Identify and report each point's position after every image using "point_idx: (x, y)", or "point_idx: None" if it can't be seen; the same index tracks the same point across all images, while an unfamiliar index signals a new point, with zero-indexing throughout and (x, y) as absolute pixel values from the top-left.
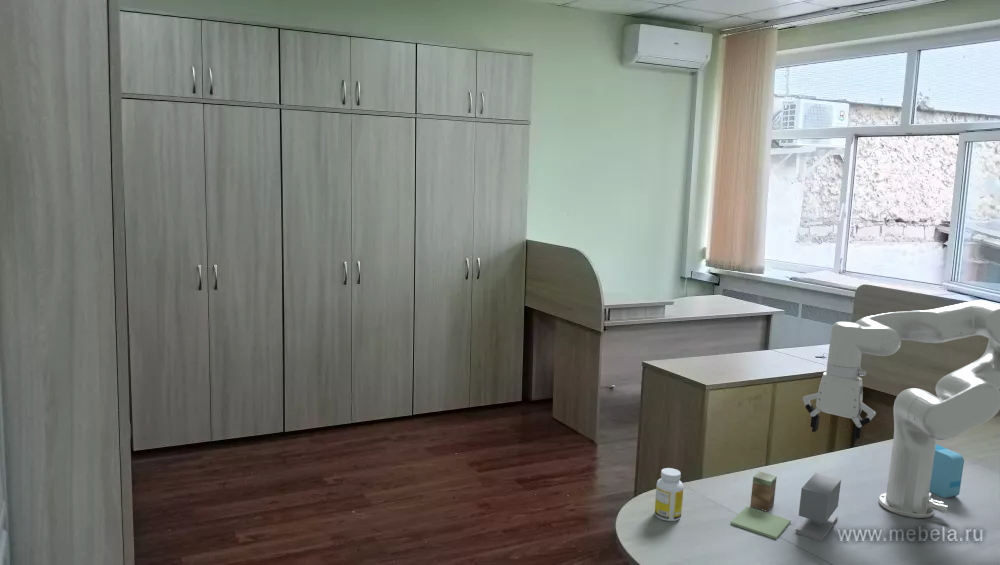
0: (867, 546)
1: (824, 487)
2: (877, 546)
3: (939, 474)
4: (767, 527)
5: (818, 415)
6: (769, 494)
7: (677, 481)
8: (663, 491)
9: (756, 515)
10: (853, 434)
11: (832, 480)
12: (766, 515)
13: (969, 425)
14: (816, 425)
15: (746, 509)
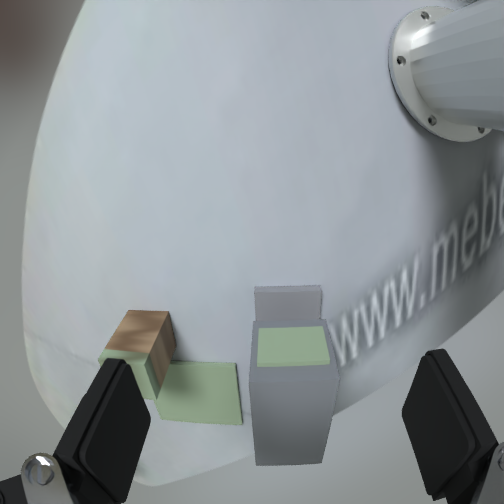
0: (390, 352)
1: (304, 442)
2: (408, 339)
3: None
4: (214, 409)
5: (81, 466)
6: (165, 374)
7: None
8: None
9: (175, 384)
10: (418, 450)
11: (315, 400)
12: (188, 375)
13: None
14: (133, 439)
15: None
